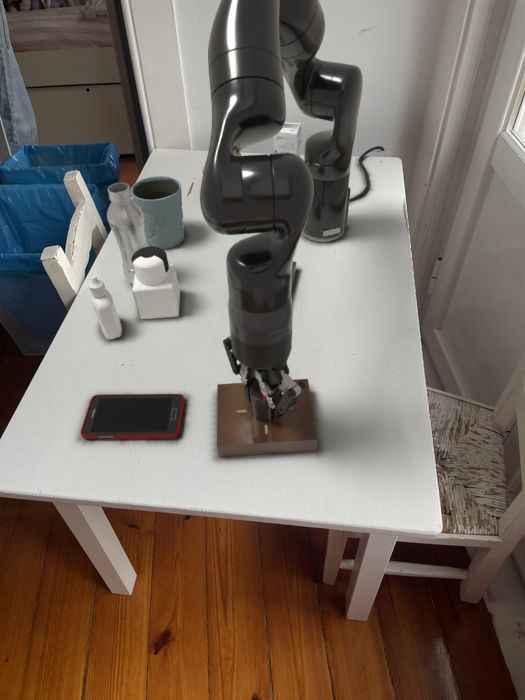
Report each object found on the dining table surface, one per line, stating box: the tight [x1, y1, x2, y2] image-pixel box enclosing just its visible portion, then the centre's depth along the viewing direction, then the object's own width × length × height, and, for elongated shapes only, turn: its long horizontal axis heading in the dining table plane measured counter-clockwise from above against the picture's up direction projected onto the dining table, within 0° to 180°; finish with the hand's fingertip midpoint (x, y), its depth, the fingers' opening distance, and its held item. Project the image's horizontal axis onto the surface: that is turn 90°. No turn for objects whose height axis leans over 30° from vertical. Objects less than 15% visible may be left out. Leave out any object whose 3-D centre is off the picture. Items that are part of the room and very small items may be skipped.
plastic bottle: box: [106, 182, 149, 285], centre depth 90 cm, size 6×7×20 cm
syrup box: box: [272, 121, 302, 158], centre depth 116 cm, size 6×6×14 cm
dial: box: [250, 379, 278, 421], centre depth 69 cm, size 4×4×5 cm
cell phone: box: [80, 393, 185, 440], centre depth 74 cm, size 8×15×1 cm, turn 89°
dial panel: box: [216, 378, 318, 458], centre depth 72 cm, size 14×11×3 cm
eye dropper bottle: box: [88, 275, 123, 340], centre depth 83 cm, size 4×6×12 cm
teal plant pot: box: [130, 175, 185, 250], centre depth 103 cm, size 10×10×12 cm
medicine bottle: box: [131, 246, 181, 320], centre depth 87 cm, size 7×7×12 cm
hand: (263, 406), depth 70 cm, fingers closed on dial, 4 cm apart
